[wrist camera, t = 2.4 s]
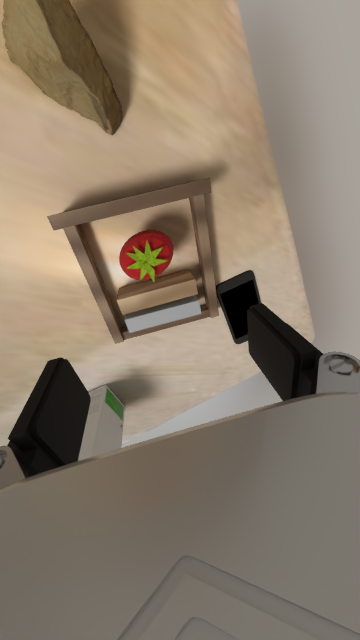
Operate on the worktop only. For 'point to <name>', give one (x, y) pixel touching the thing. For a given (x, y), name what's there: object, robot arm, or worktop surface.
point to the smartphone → (238, 303)
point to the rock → (60, 58)
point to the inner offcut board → (156, 292)
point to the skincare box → (102, 424)
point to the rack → (129, 204)
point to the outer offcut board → (162, 313)
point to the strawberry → (146, 255)
